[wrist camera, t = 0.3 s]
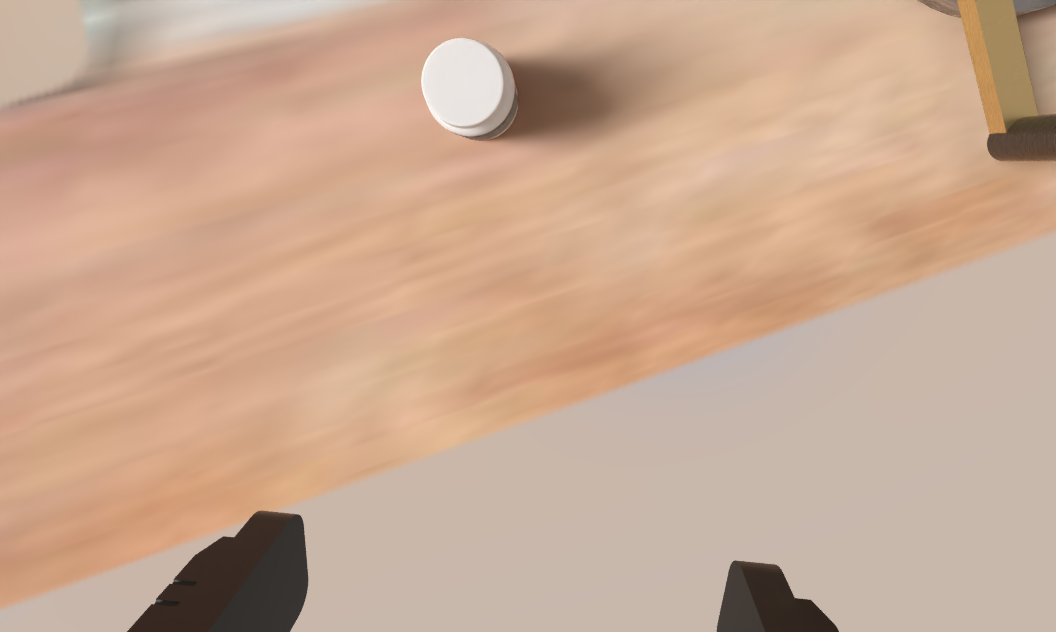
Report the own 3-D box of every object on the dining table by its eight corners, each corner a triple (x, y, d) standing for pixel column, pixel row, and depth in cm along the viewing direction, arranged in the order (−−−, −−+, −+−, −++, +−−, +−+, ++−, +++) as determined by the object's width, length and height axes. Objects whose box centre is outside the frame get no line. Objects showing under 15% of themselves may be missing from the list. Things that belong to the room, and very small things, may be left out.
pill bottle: (534, 93, 35) (533, 72, 27) (489, 156, 36) (475, 154, 28) (471, 42, 34) (451, 5, 26) (427, 109, 35) (395, 92, 27)
